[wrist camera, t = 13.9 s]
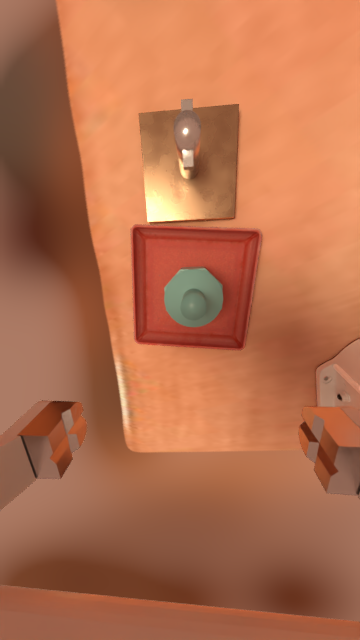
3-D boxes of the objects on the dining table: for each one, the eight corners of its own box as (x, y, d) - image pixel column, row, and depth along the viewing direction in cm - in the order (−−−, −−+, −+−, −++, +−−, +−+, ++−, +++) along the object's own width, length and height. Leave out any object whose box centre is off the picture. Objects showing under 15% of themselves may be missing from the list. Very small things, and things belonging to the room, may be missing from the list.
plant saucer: (135, 226, 31) (129, 223, 27) (256, 230, 30) (264, 228, 27) (139, 336, 36) (134, 344, 33) (240, 342, 36) (244, 351, 32)
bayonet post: (232, 218, 29) (252, 201, 19) (149, 223, 30) (128, 208, 20) (236, 112, 25) (264, 21, 15) (141, 120, 26) (109, 40, 16)
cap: (218, 265, 28) (229, 270, 20) (218, 315, 31) (227, 338, 22) (166, 267, 29) (156, 274, 21) (170, 316, 31) (161, 340, 23)
